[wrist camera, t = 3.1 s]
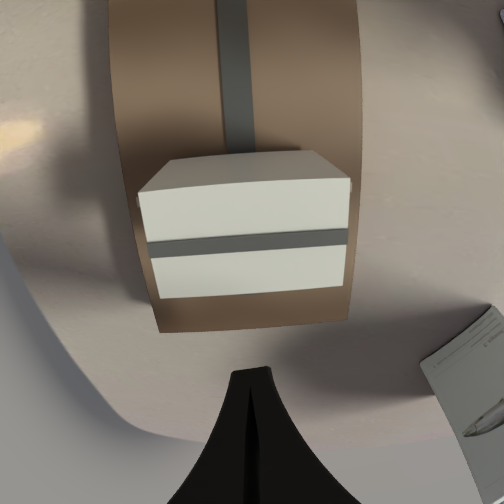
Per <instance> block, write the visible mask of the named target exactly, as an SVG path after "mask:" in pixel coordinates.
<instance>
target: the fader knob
mask: <svg viewBox="0 0 504 504" xmlns="http://www.w3.org/2000/svg"><path fill="white" fill-rule="evenodd" d="M138 196H139V202H140V208H141V213H142V218H143V223H144V229H145V234H146V238H147V244H146V245H147V250H148V254H149V259H150V258H151V262H152V266H153V271H154V275H155V279H156V283H157V287H158V292H159V296H160V299H163V298H184V297H202V296H219V295H235V294H249V293H263V292H276V291H289V290H301V289H312V288H323V287H333V286H343V277H344V267H345V256H346V245H348V236H349V229H348V216H349V198H350V177H348V176H347V175H346V174H345V173H343V172H342V171H341V170H339V169H338V168H337V167H335V166H334V165H333V164H331V163H330V162H329V161H327V160H326V159H324V158H323V157H322V156H320V155H319V154H318V153H316V152H315V151H313V150H300V151H273V152H255V153H239V154H226V155H214V156H203V157H193V158H184V159H175V160H170V161H169V162H168V163H167V164H166V165H165V166H164V167H163V168H162V169H161V170H160V171H159V172H158V173H157V174H156V175H155V176H154V177H153V178H152V179H151V180H150V181H149V182H148V183H147V184H146V185H145V186H144V187H143V188H142V189H141V190H140V191H139V192H138Z"/></svg>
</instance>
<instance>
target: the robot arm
mask: <svg viewBox="0 0 504 504" xmlns="http://www.w3.org/2000/svg"><path fill="white" fill-rule="evenodd" d="M500 15H501V18H502V21H503V23H504V9H502V10H501V12H500ZM167 504H361V503H360V502H359V501H358V500H356V499H355V498H354V497H353V496H352V495H351V494H350V493H349V492H348V491H347V490H346V489H345V488H344V487H343V486H342V485H341V484H340V483H339V482H338V481H337V480H336V479H335V478H334V477H333V475H332V474H331V473H330V472H329V471H328V470H327V469H326V468H325V467H324V465H323V464H322V463H321V462H320V461H319V459H318V458H317V457H316V456H315V454H314V453H313V452H312V450H311V449H310V447H309V446H308V445H307V443H306V442H305V440H304V439H303V437H302V436H301V434H300V433H299V431H298V430H297V428H296V426H295V425H294V423H293V421H292V420H291V418H290V416H289V414H288V412H287V410H286V409H285V407H284V405H283V403H282V401H281V398H280V396H279V394H278V391H277V389H276V386H275V383H274V380H273V376H272V371H271V368H270V367H268V366H264V367H258V368H251V369H244V370H237V371H233V372H232V373H231V377H230V381H229V385H228V389H227V393H226V396H225V399H224V402H223V405H222V408H221V411H220V413H219V416H218V419H217V421H216V424H215V426H214V428H213V430H212V433H211V435H210V437H209V439H208V441H207V444H206V445H205V448H204V449H203V451H202V453H201V455H200V457H199V459H198V460H197V462H196V464H195V465H194V467H193V469H192V470H191V472H190V473H189V475H188V476H187V478H186V479H185V481H184V482H183V484H182V485H181V486H180V488H179V489H178V490H177V492H176V493H175V494H174V495H173V497H172V498H171V499H170V500H169V502H168V503H167ZM500 504H504V501H502V502H501V503H500Z"/></svg>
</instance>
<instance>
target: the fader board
mask: <svg viewBox="0 0 504 504" xmlns="http://www.w3.org/2000/svg"><path fill="white" fill-rule="evenodd" d="M108 28H109V53H110V70H111V83H112V94H113V104H114V114H115V122H116V131H117V138H118V146H119V153H120V159H121V166H122V172H123V178H124V184H125V190H126V195H127V201H128V206H129V211H130V216H131V221H132V226H133V231H134V235H135V240H136V244H137V249H138V253H139V257H140V262H141V266H142V270H143V274H144V278H145V282H146V286H147V290H148V293H149V297H150V301H151V304H152V308H153V312H154V315H155V319H156V322H157V325H158V329H159V332H160V333H178V332H205V331H225V330H241V329H256V328H269V327H281V326H292V325H302V324H312V323H322V322H331V321H339V320H347V318H348V311H349V304H350V297H351V289H352V281H353V272H354V264H355V254H356V244H357V233H358V220H359V206H360V190H361V168H362V74H361V53H360V38H359V25H358V14H357V4H356V0H108ZM300 150H313V151H315V152H316V153H318V154H319V155H320V156H322V157H323V158H324V159H326V160H327V161H329V162H330V163H331V164H333V165H334V166H335V167H337V168H338V169H339V170H341V171H342V172H343V173H345V174H346V175H347V176H348V177H350V198H349V216H348V229H349V236H348V245H346V256H345V267H344V277H343V286H333V287H323V288H312V289H301V290H289V291H276V292H263V293H249V294H235V295H219V296H202V297H184V298H163V299H160V296H159V292H158V287H157V283H156V279H155V275H154V271H153V266H152V262H151V258H150V259H149V254H148V250H147V245H146V244H147V238H146V234H145V229H144V223H143V218H142V213H141V208H140V202H139V196H138V192H139V191H140V190H141V189H142V188H143V187H144V186H145V185H146V184H147V183H148V182H149V181H150V180H151V179H152V178H153V177H154V176H155V175H156V174H157V173H158V172H159V171H160V170H161V169H162V168H163V167H164V166H165V165H166V164H167V163H168V162H169V161H170V160H175V159H184V158H193V157H203V156H214V155H226V154H239V153H255V152H273V151H300Z"/></svg>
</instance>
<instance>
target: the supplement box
mask: <svg viewBox="0 0 504 504" xmlns="http://www.w3.org/2000/svg"><path fill="white" fill-rule="evenodd" d="M420 367H421V369H422V371H423V373H424V375H425V377H426V379H427V380H428V382H429V384H430V386H431V388H432V390H433V392H434V394H435V395H436V397H437V399H438V401H439V403H440V405H441V407H442V409H443V411H444V413H445V415H446V417H447V419H448V421H449V423H450V425H451V427H452V429H453V431H454V433H455V436H456V438H457V440H458V442H459V445H460V447H461V449H462V452H463V454H464V456H465V459H466V461H467V464H468V466H469V469H470V471H471V473H472V476H473V478H474V481H475V483H476V486H477V488H478V491H479V494H480V496H481V499H482V502H483V504H499V503H501V502H502V501H504V316H503V315H502V314H501V313H500V312H499V310H498V309H497V308H496V307H495V306H491V308H490V309H489V310H488V311H487V312H486V313H485V314H484V315H483V316H482V317H480V318H479V319H478V320H477V321H476V322H475V323H473V324H472V325H471V326H470V327H469V328H467V329H466V330H465V331H464V332H462V333H461V334H460V335H458V336H457V337H456V338H454V339H453V340H452V341H451V342H449V343H448V344H446V345H445V346H444V347H442V348H441V349H440V350H438V351H437V352H435V353H434V354H432V355H431V356H429V357H427V358H426V359H424V360H423V361H421V362H420Z"/></svg>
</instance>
